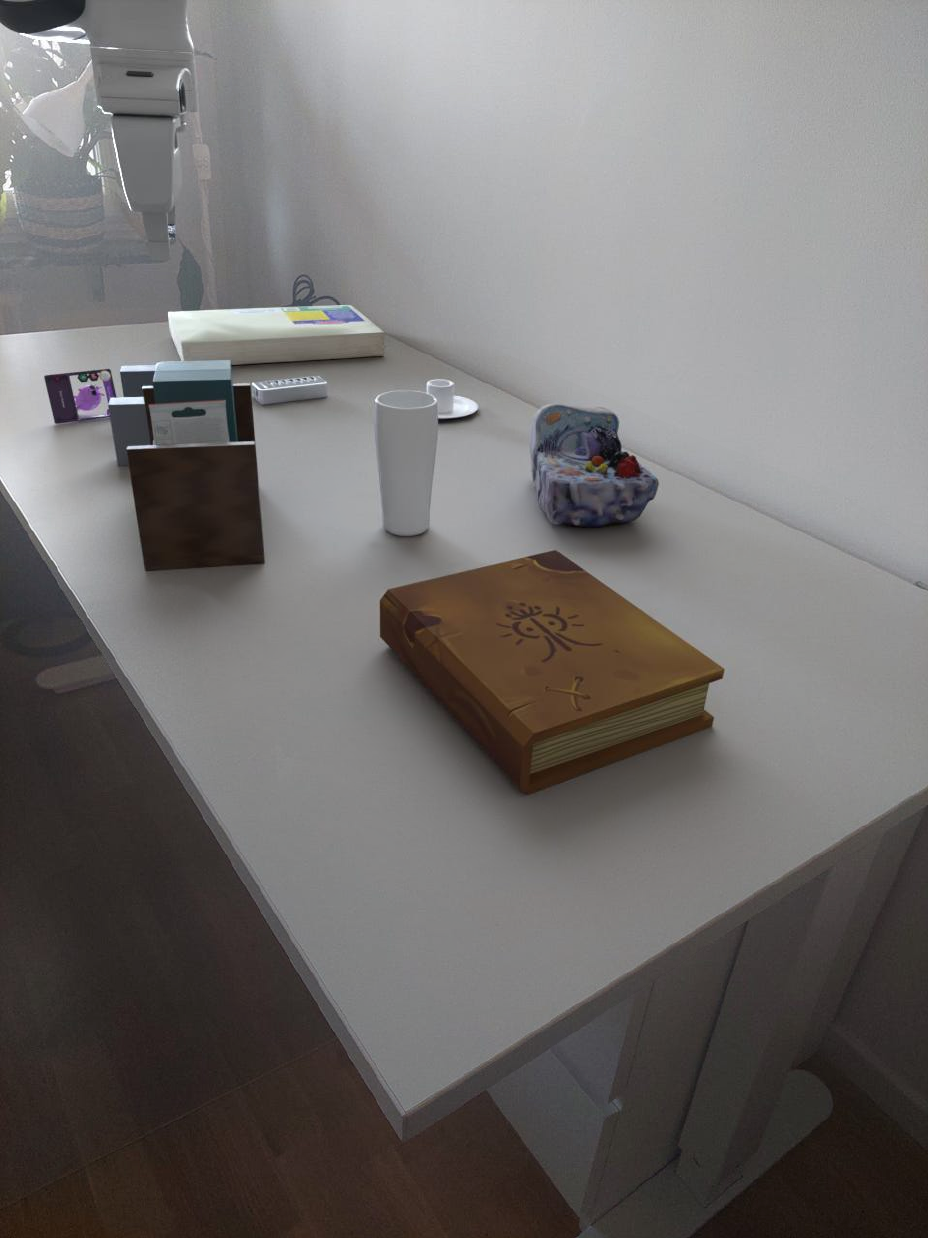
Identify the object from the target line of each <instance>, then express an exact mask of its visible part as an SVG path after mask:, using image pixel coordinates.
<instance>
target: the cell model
mask: <svg viewBox="0 0 928 1238" xmlns="http://www.w3.org/2000/svg"><path fill="white" fill-rule="evenodd" d="M619 428H620V420H619V417H618V415H617V414H616V413H615V412H613V411H611V409H608V408H606V407H603V406H581V405H580V406H579V405H571V404H563V403H561V404H560V403H550V404H546V405H543V406H541V408H540V409H538V410H537V412H536V413H535V415H534V417H533V421H532V426H531V431H530V438H529V453H530V460H531V461H530V466H531V467H530V472H531V476H532V481H533V483H534V485H533V486H534V490H535V491H536V494H537V496H536V497H537V498H536V499H537V501H538V506H539V507H540V509H542V511H544V513H545V514H546V517H547V519H548V521H549V522H550V523H551V524H552V525H569V526H574V527H584V528H585V527H586V528H587V527H589V528H601V527H604V526H607V525H611V524H626V523H631V522H634V521H636V520H638V518H640V516H641V515H642V513H643V512H644V510H645V508H647V505H648V504H649V502H650V501H653V500H654V499H655V498H656V495H657V491H658V489H659V486H660V482H659V479H658V477H657V476H655V474H653V472H652V471H651V470H649V469H648V468H646V467H644V466H643V465H642V464H641V463H640V462H639V461H638V460H637V457H636V455H630V453H629V452H628V451H622V447H623V446H622V442H621V440H620V438H619V433H618V432H619Z"/></svg>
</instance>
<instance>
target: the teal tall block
mask: <svg viewBox="0 0 928 1238" xmlns="http://www.w3.org/2000/svg"><path fill="white" fill-rule="evenodd" d="M156 365H157V366H156V370H155V374H154V378H153V390H154V397H155V404H160V403H177V402H194V401H210V400H226V416H227V425H228V433H229V440H230V442H238V435H237V424H236V414H235V403H234V392H233V384H234V381H233V371H232V365H231V360H207V361H181V360H170V361H169V360H167V361H162V360H161V361H157V362H156ZM205 414H206V412H205V410H204V409H192V408H191V407H186V408H185V409H184V410H181V411H173V412H172V417H191V416H202V415H205Z"/></svg>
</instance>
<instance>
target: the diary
mask: <svg viewBox="0 0 928 1238" xmlns="http://www.w3.org/2000/svg"><path fill="white" fill-rule="evenodd" d="M379 638H380V639H381V640H382V641H383V642H384V643H385V644H386V646H388V648H390V650H391V651H392V652H393V653H394V654H395V655H396V656H397V657H398V658H399V660H401V661H402V663H403V664H404V665H405V666H407V668H408V669H409V670H410V671H411V672H412V673H413V674H414V676H415V677H416V678H417V679H418V680H419V681H420V682H421V683H422V684H423V685H424V686H425V687H426V688H427V689H428V691H429V692H430V693H431V694H432V695H433V696H434V697H435V698H436V699H437V700H438V702H439V703H440V704H441V705H442V706H443V707H444V708H445V709H446V711H447V712H449V714H451V716H452V717H453V718H454V719H455V720H456V721H457V722H458V724H459V725H461V727H462V728H463V729H464V730H465V731H466V732H467V733H468V734H469V735H470V736H471V738H472V739H473V740H474V741H475V743H477V744H478V745H479V746H480V747H481V748H482V750H483V751H485V753H486V754H487V755H488V756H489V757H490V759H492V760H493V761H494V763H495V764H496V765H497V766H498V767H499V768H500V769H501V770H502V771H503V772H504V773H505V775H507V777H508V778H509V779H510V780H511V781H512V782H513V783H514V784H515V785H516V786H517V788H518V789H519V790H521V791H522V792H524V793H525V794H526V795H531V794H534V793H536V792H539V791H542V790H544V789H547V788H551V787H553V786H555V785H558V784H561V783H563V782H566V781H569V780H572V779H573V778H577V777H580V776H582V775H586V774H587V773H590V772H593V771H596V770H599V769H601V768H604V767H607V766H609V765H612V764H614V763H618V762H620V761H622V760H625V759H628V758H630V757H633V756H636V755H639V754H642V753H644V752H647V751H650V750H652V749H655V748H657V747H660V746H662V745H665V744H668V743H671V742H673V741H676V740H679V739H681V738H682V739H683V738H684V737H687V736H689V735H693V734H695V733H699V732H700V731H703V730H706V729H708V728H711V727H713V725H714V719H715V716H714V715H712V714H711V713H709V711H707V710H705V705H706V701H707V696H708V691H709V687H710V684H711V683H714V682H717V681H720V680H723V679H724V675H725V670H726V668H724V667H723V666H721V664H718V663H717V662H715V660H713V659H712V658H710V657H709V656H707V655H706V654H704V653H703V652H701V650H699V649H697V648H696V647H694V646H693V645H692V644H691V643H689V642H687V641H686V640H684V638H682V637H680V636H679V635H677V634H676V633H675V632H673V631H672V630H670V629H669V628H668V627H666V626H665V625H663V624H662V623H661V622H659V621H657V620H656V619H655V618H653V617H652V616H651V615H649V614H648V613H646V612H645V611H644V610H642V609H641V608H639V607H638V606H636V605H635V604H633V603H632V602H631V601H629V600H628V599H627V598H625V597H623V596H622V595H621V594H620V593H618V592H616V591H615V590H613V589H612V588H611V587H610V586H608V585H606V584H605V583H604V582H602V581H601V580H600V579H598V578H596V577H595V575H593V574H591V573H589V572H588V571H587V570H585V568H582V567H581V566H579V564H577V563H576V562H574V561H572V560H571V559H570V558H569V557H567V556H565V555H564V554H563V553H561V552H560V551H558V550H557V549H553V550H549V551H545V552H541V553H537V554H532V555H529V556H524V557H520V558H514V559H511V560H506V561H503V562H499V563H493V564H490V565H485V566H482V567H477V568H472V569H468V570H464V571H459V572H456V573H451V574H447V575H443V576H439V577H435V578H431V579H430V578H429V579H426V580H422V581H417V582H413V583H409V584H404V585H401V586H396V587H391V588H388V589H387V590H386V591H385V593H384V594H383V595H382V596H381V598H380V599H379Z"/></svg>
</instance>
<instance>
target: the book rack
mask: <svg viewBox="0 0 928 1238" xmlns="http://www.w3.org/2000/svg"><path fill="white" fill-rule="evenodd" d="M142 390H143V397H144V404H145V411H146V418H147V425H148V432H149V439H150V445H144V446H127V449H126V451H127V458H128V464H129V465H128V469H129V476H130V481H131V490H132V495H133V502H134V503H133V504H134V509H135V515H136V521H137V529H138V534H139V542H140V547H141V554H142V560H143V566H144V571H145V572H150V571H166V570H179V569H194V568H195V569H196V568H210V567H226V566H227V567H228V566H242V565H243V566H244V565H256V564H258V565H259V564H265V549H264V535H263V521H262V509H261V507H262V506H261V495H260V483H259V482H260V480H259V467H258V457H257V456H258V455H257V446H256V445H257V444H256V433H255V421H254V420H255V419H254V409H253V394H252V384H251V382H250V383H249V382H244V383H238V382H237V383H233V392H234V403H235V414H236V424H237V435H238V442H220V443H195V444H170V445H153V440H154V437H153V429H152V422H151V415H150V409H149V404H155V397H154V390H153V386H143V389H142Z"/></svg>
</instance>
